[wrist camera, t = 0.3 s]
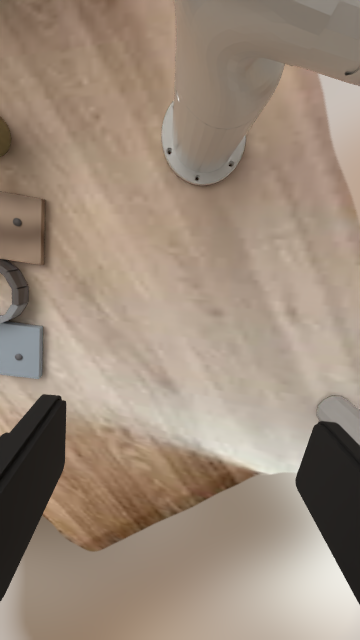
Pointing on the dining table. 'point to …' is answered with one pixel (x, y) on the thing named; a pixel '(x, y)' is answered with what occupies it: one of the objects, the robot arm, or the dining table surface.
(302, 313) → the dining table surface
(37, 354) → the leaf
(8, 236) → the leaf
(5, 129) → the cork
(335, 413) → the water bottle
